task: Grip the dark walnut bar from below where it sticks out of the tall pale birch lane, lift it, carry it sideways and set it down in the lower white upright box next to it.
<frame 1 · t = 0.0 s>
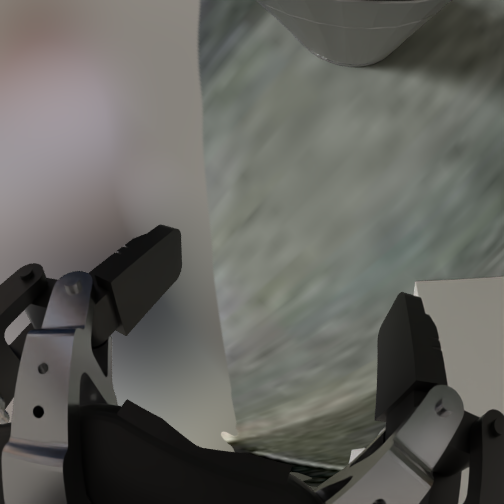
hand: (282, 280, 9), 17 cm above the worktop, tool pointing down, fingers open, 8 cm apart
jar: (364, 450, 58), on the worktop
white upright box: (480, 303, 24), on the worktop
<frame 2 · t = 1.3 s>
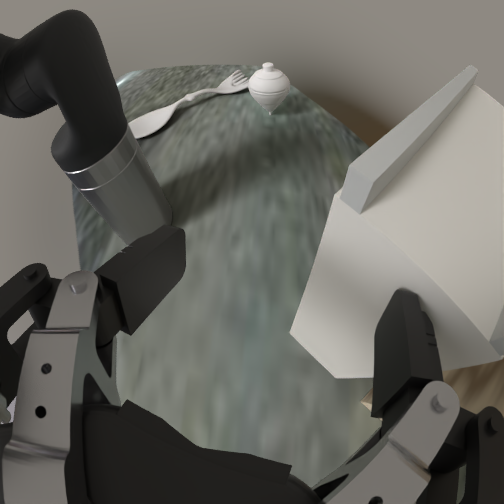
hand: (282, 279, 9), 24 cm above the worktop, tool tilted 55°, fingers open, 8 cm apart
spinning top: (270, 115, 50), on the worktop
tall stand: (425, 357, 28), on the worktop
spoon: (190, 109, 54), on the worktop
white upright box: (365, 298, 32), on the worktop
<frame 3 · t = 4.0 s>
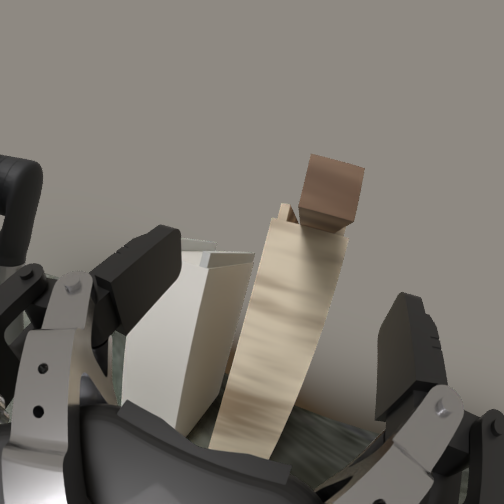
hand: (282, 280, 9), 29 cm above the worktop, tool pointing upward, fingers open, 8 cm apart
tall stand: (245, 439, 35), on the worktop
walnut bar: (314, 232, 27), point 32 cm above the worktop, touching tall stand
white upright box: (176, 411, 37), on the worktop
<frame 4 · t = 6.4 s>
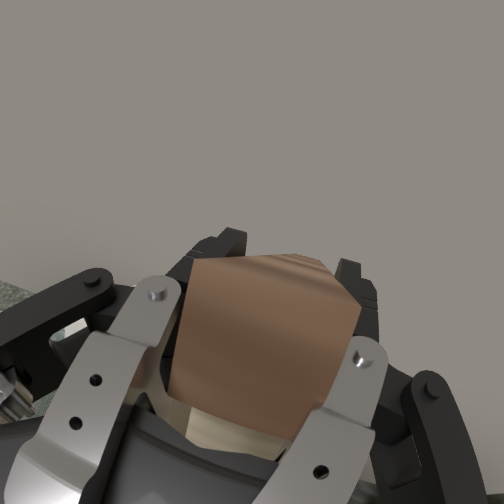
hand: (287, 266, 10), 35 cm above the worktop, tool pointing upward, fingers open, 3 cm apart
tall stand: (219, 496, 26), on the worktop
walnut bar: (291, 302, 18), point 32 cm above the worktop, touching gripper, tall stand
white upright box: (144, 462, 28), on the worktop
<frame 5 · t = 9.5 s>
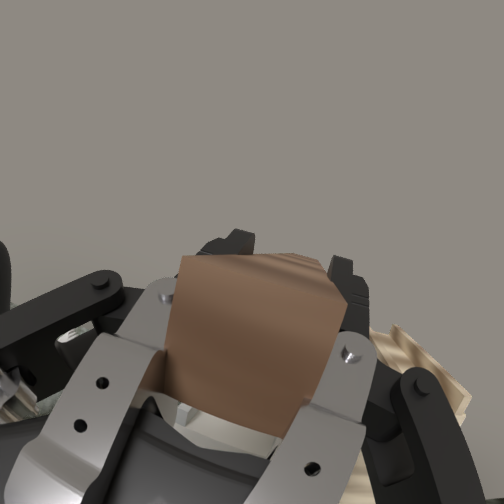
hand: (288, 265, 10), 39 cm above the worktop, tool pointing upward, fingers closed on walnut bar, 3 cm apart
walnut bar: (287, 301, 18), point 36 cm above the worktop, touching gripper
when the fingers open (30 cm above the worktop, at t = 12.2 s): walnut bar stays where it is, resting on white upright box.
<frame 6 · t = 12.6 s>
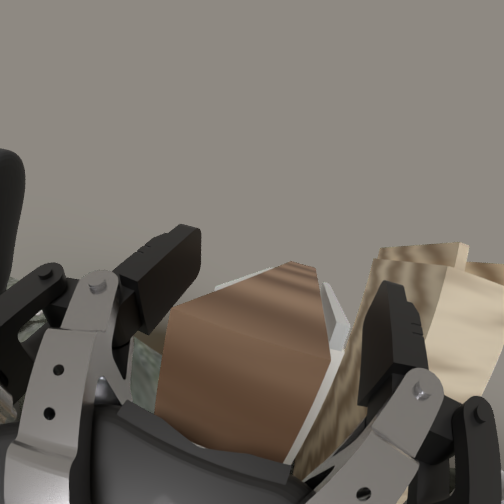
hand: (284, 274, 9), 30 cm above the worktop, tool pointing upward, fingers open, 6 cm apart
tall stand: (313, 501, 23), on the worktop
walnut bar: (284, 315, 18), point 26 cm above the worktop, touching white upright box
white upright box: (226, 480, 25), on the worktop
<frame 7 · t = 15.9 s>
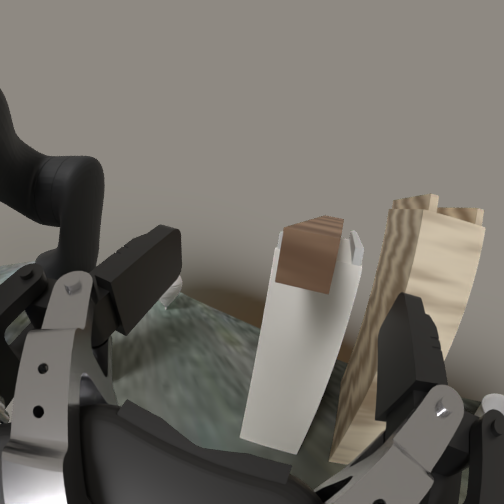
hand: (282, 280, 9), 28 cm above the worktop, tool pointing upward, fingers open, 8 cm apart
spinning top: (165, 310, 65), on the worktop
tall stand: (356, 419, 34), on the worktop
teacup: (486, 443, 22), on the worktop
walnut bar: (323, 250, 27), point 26 cm above the worktop, touching white upright box
white upright box: (286, 403, 38), on the worktop
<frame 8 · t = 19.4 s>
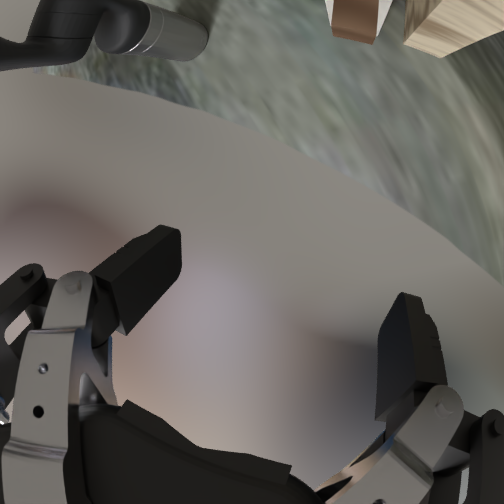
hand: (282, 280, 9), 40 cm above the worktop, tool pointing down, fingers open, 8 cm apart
tall stand: (424, 6, 22), on the worktop
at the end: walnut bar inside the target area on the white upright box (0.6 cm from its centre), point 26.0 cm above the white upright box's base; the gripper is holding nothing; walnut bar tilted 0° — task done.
